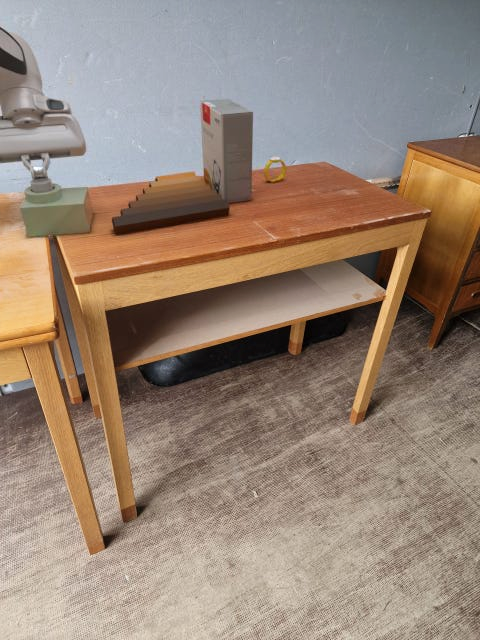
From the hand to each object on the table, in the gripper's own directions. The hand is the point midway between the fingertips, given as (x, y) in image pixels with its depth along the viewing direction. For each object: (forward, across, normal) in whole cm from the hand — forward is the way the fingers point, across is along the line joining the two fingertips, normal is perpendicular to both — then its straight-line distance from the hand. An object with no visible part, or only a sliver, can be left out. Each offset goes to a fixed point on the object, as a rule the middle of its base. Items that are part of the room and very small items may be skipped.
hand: (39, 177), depth 88 cm
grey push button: (+2, 0, +2) cm, 3 cm away
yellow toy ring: (+1, +56, +14) cm, 58 cm away
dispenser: (+8, +2, +7) cm, 10 cm away
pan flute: (+5, +24, +9) cm, 26 cm away
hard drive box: (+3, +42, +11) cm, 43 cm away
